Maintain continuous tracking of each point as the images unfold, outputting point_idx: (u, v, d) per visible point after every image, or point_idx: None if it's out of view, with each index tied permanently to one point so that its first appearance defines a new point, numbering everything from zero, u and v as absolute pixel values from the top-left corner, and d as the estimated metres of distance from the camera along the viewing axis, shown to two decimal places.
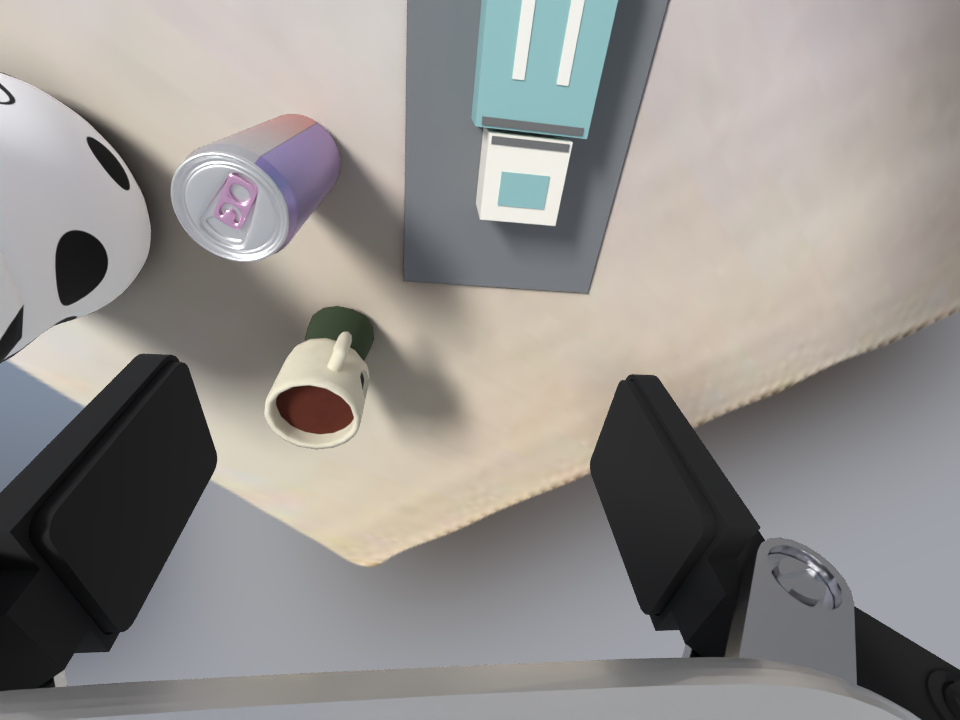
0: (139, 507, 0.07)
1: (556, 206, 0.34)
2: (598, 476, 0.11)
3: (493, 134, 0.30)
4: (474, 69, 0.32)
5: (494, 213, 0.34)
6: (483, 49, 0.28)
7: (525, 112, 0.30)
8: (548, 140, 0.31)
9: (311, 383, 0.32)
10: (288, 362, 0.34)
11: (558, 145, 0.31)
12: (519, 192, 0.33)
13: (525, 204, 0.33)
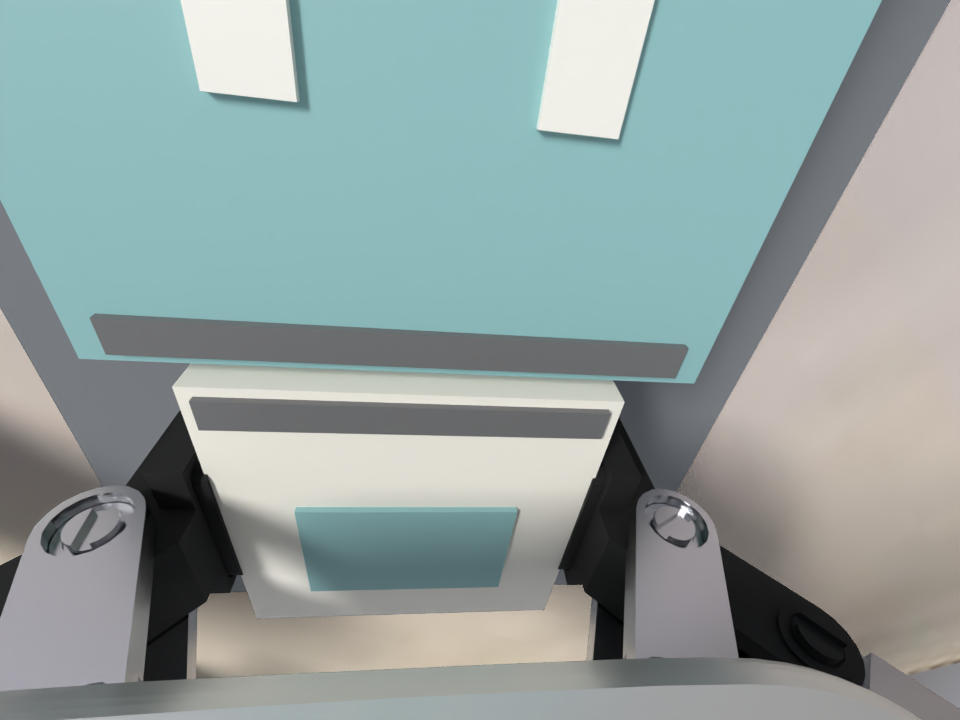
0: None
1: (547, 572, 0.09)
2: None
3: (198, 391, 0.06)
4: None
5: (308, 603, 0.09)
6: None
7: (357, 287, 0.05)
8: (502, 399, 0.06)
9: None
10: None
11: (551, 416, 0.06)
12: (390, 557, 0.08)
13: (424, 581, 0.08)
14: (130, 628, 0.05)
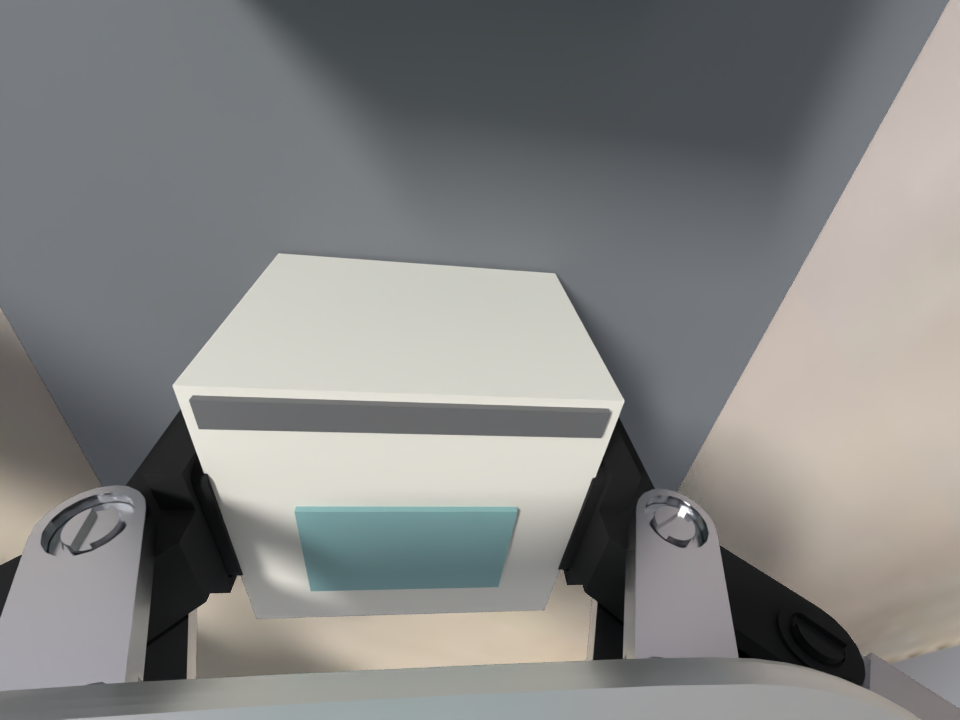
0: None
1: (547, 572, 0.09)
2: None
3: (198, 389, 0.06)
4: None
5: (308, 603, 0.09)
6: None
7: None
8: (502, 398, 0.06)
9: None
10: None
11: (552, 414, 0.06)
12: (390, 557, 0.08)
13: (425, 582, 0.08)
14: (130, 628, 0.05)
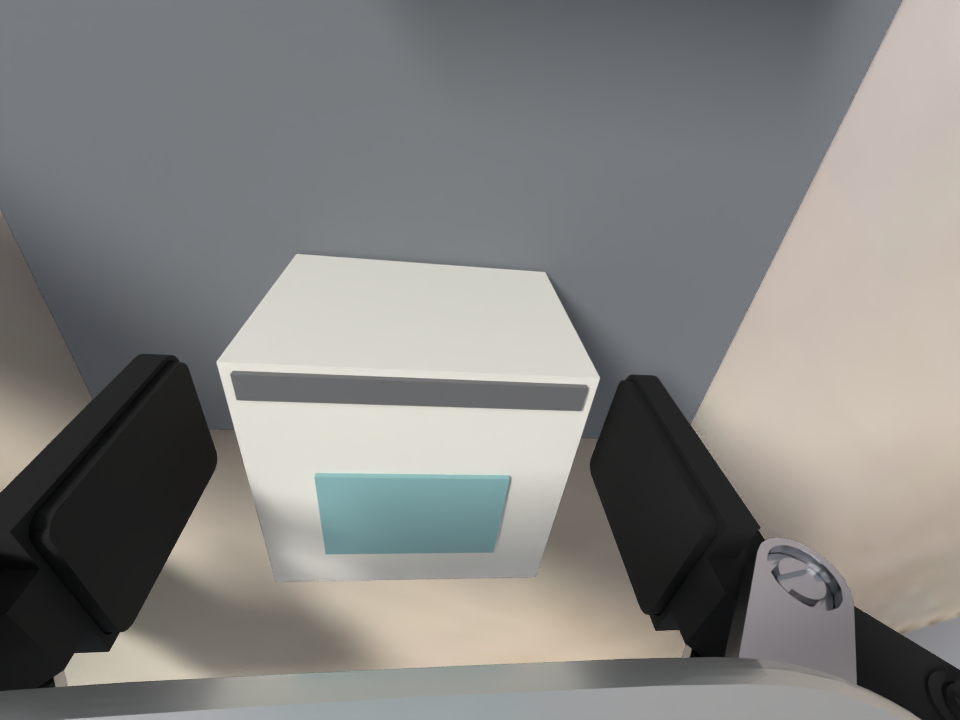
0: (139, 507, 0.07)
1: (537, 539, 0.10)
2: (598, 476, 0.11)
3: (238, 366, 0.07)
4: None
5: (322, 567, 0.10)
6: None
7: None
8: (495, 375, 0.07)
9: None
10: None
11: (537, 390, 0.07)
12: (397, 521, 0.09)
13: (427, 546, 0.09)
14: None
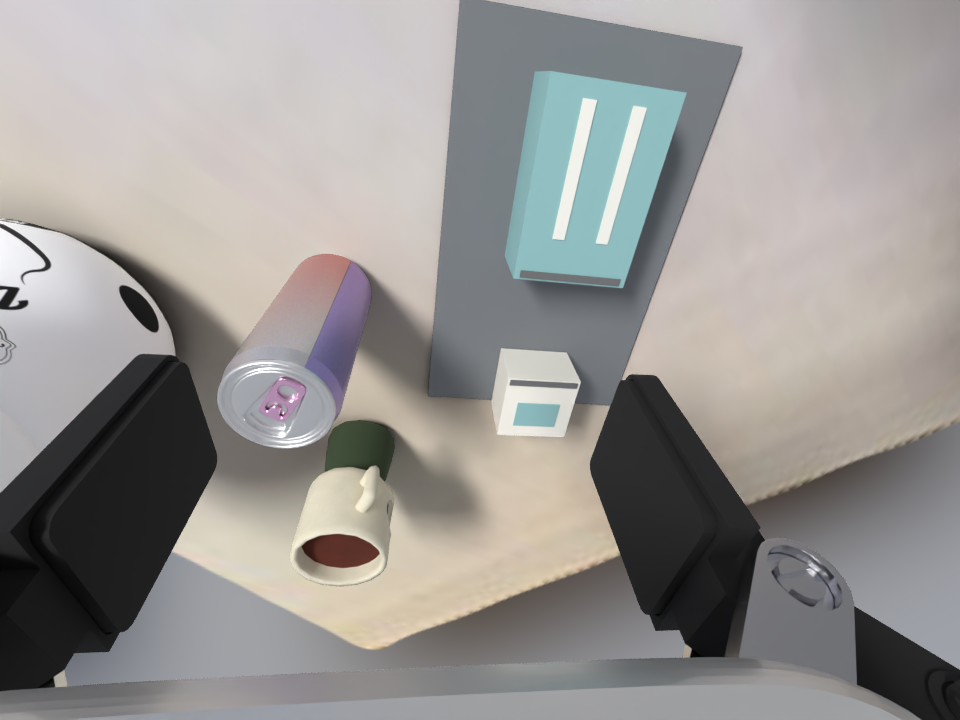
0: (139, 507, 0.07)
1: (565, 423, 0.38)
2: (598, 476, 0.11)
3: (511, 378, 0.35)
4: (510, 214, 0.32)
5: (510, 430, 0.38)
6: (525, 214, 0.28)
7: (563, 266, 0.30)
8: (559, 381, 0.35)
9: (340, 532, 0.31)
10: (314, 499, 0.33)
11: (568, 384, 0.35)
12: (532, 416, 0.37)
13: (538, 424, 0.37)
14: None
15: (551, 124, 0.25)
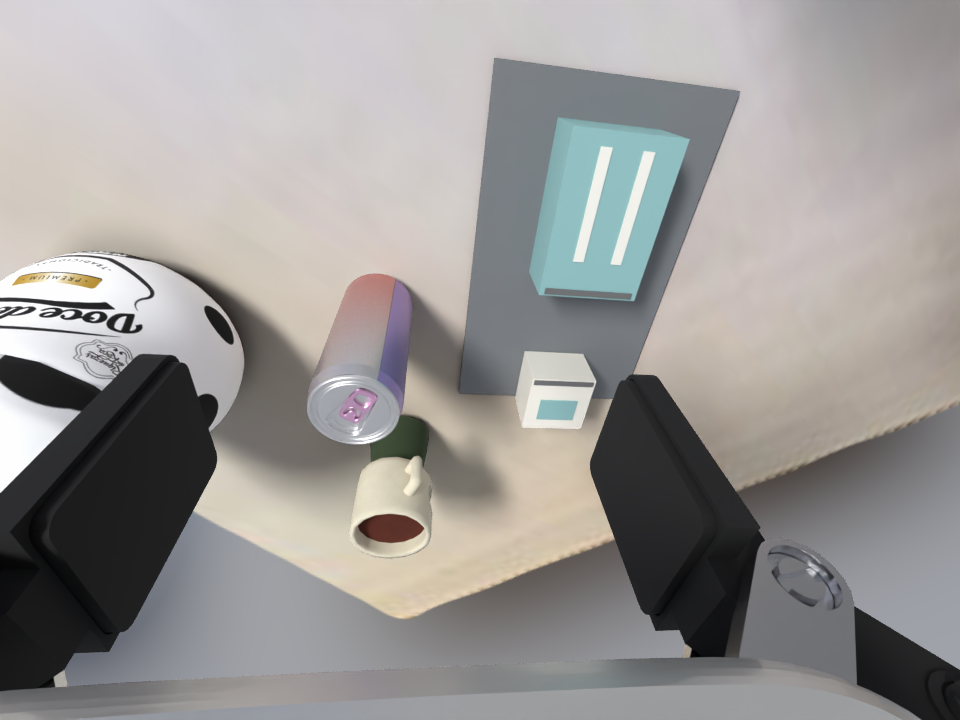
0: (139, 507, 0.07)
1: (582, 417, 0.43)
2: (598, 476, 0.11)
3: (535, 379, 0.39)
4: (534, 236, 0.37)
5: (533, 423, 0.43)
6: (550, 241, 0.32)
7: (582, 284, 0.34)
8: (577, 380, 0.40)
9: (393, 512, 0.36)
10: (367, 484, 0.39)
11: (585, 383, 0.40)
12: (553, 411, 0.42)
13: (558, 418, 0.42)
14: None
15: (574, 168, 0.29)
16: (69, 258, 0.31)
